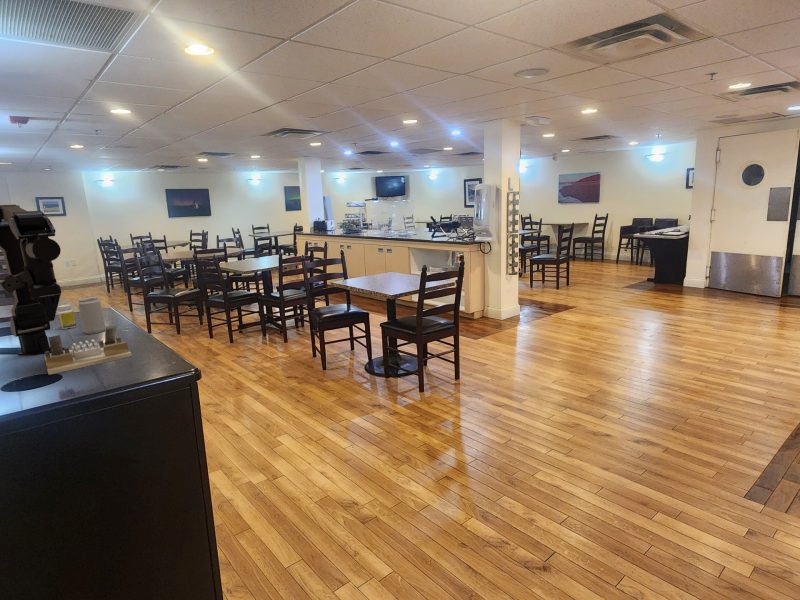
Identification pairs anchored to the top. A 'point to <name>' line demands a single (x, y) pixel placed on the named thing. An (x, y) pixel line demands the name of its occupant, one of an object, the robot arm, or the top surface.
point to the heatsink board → (87, 361)
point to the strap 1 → (56, 345)
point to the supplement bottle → (66, 317)
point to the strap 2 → (110, 335)
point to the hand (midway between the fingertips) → (50, 318)
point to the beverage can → (91, 315)
